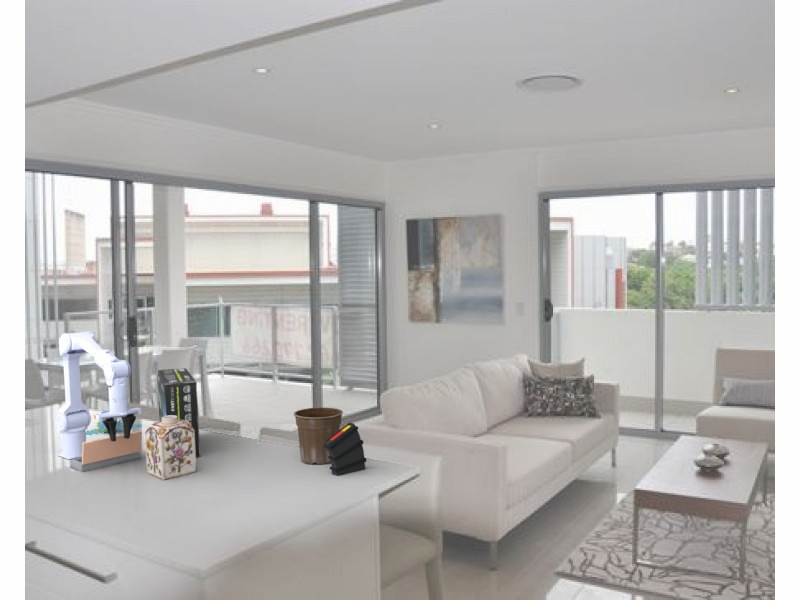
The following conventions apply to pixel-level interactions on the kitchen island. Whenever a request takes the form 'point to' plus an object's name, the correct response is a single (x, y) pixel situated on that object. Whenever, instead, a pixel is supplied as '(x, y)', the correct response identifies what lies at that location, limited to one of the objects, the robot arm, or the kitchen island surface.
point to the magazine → (346, 450)
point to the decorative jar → (170, 448)
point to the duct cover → (110, 447)
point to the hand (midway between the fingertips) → (120, 439)
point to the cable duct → (102, 462)
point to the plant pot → (316, 432)
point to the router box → (179, 398)
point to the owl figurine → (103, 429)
